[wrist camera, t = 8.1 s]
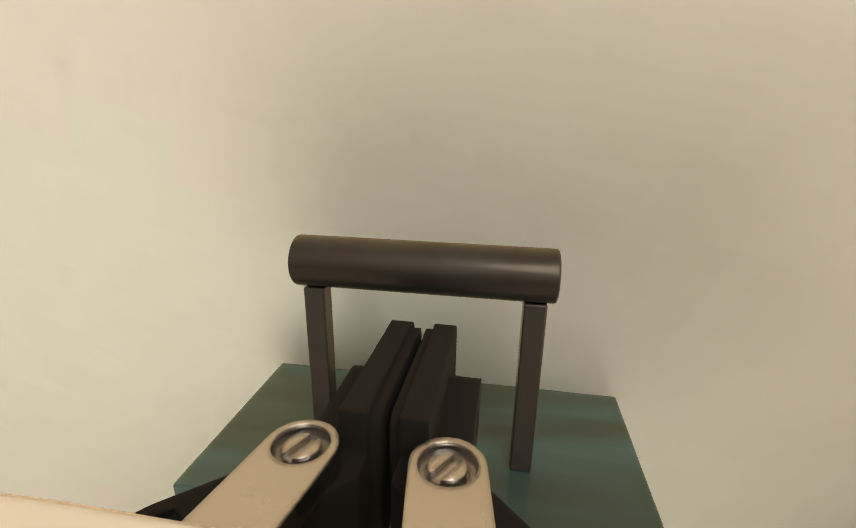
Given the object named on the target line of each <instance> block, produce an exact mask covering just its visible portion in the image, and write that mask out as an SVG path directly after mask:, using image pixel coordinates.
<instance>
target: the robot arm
mask: <svg viewBox="0 0 856 528" xmlns="http://www.w3.org/2000/svg"><path fill="white" fill-rule="evenodd" d="M456 339H457V327H456V326H452V325H441V324H435V325H434V328H433V329H426V331H425V333H424V336H423V338H422V341H421V328H415V327H414V323H413V322H408V321H397V320H392V321H391V323H390V324H389V326H388V328H387V329H386V331H385V333H384V334H383V336H382V338H381V339H380V341H379V343H378V344H377V346H376V348H375V349H374V351H373V353H372V354H371V356H370V358H369V359H368V361H367V363H366V364H365V366H358V365H355V366H353V367H352V368H351V370H350V371H349V373H348V374H347V376H346V377H345V379H344V380H343V382H342V384H341V385H340V387H339V388H338V390H337V391H336V393H335V394H334V396H333V397H332V399H331V401H330V402H329V404H328V405H327V407H326V408H325V410H324V411H323V413H322V414H321V416H320V418H319V419H318V420H312V419H310V420H299V421H295V422H291V423H288V424H286V425H284V426H282V427H279V428H278V429H276V430H275V431H274V432H272V433H271V434H270V435H269V436H268V437H267V438H266V439H265V440H264V441H263V442H262V443H261V444H260V445H259V446H258V447H257V448H256V449H255V450H254V451H253V452H251V453H250V454H249V455H248V456H247V457H246V458H245V459H244V460H243V461H242V462H241V463H240V464H239V465H238V466H237V467H236V468H235V469H234V470H233V471H232V472H231V473H230V474H228V475H226V476H223V477H221V478H218V479H216V480H213V481H211V482H208V483H205V484H203V485H200V486H198V487H195V488H193V489H190V490H188V491H185V492H183V493H180V494H177V495H175V496H172V497H170V498H167V499H165V500H162V501H160V502H157V503H155V504H152V505H150V506H148V507H146V508H144V509H142V510H140V511H137V512H136V513H128V512H123V511H117V510H111V509H105V508H99V507H93V506H87V505H81V504H75V503H69V502H63V501H57V500H51V499H43V498H35V497H28V496H20V495H12V494H4V493H0V528H389V527H390V524H391V528H530V527H529V526H528V525H527V524H526V523H525V522H524V521H523V520H522V519H521V518H520V517H519V516H518V515H517V514H516V513H514V512H513V511H512V510H511V509H510V508H509V507H508V506H507V505H506V504H505V503H504V502H503V501H502V500H501V499H500V498H499V497H498V496H497V495H495V494H494V493H493V492H492V491H491V489H490V481H489V473H488V466H487V462H486V459H485V457H484V455H483V454H482V453H481V451H480V450H479V449H478V448H477V447H476V446H477V437H478V426H479V413H480V396H481V379H479V378H469V377H460V376H455V366H456Z"/></svg>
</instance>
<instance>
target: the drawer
mask: <svg viewBox="0 0 856 528" xmlns="http://www.w3.org/2000/svg"><path fill="white" fill-rule="evenodd" d="M288 268H289V274H290V277H291V279H292V281H293V282H294V283H295V284H298V285H307V286H305V288H304V294H305V307H306V320H307V333H308V346H309V359H310V366H306V365H296V364H287V363H283V364H282V365H281V366H280V367H279V368H278V369H277V370H276V371H275V372H274V373H273V375H272V376H271V377H270V378H269V379H268V380H267V381H266V382H265V383H264V384H263V386H262V387H261V388H260V389H259V390H258V391H257V392H256V393H255V394H254V396H253V397H252V398H251V399H250V400H249V401H248V402H247V403H246V404H245V406H244V407H243V408H242V409H241V410H240V411H239V412H238V413H237V414H236V416H235V417H234V418H233V419H232V420H231V421H230V422H229V423H228V424H227V426H226V427H225V428H224V429H223V430H222V431H221V432H220V433H219V434H218V436H217V437H216V438H215V439H214V440H213V441H212V442H211V443H210V444H209V446H208V447H207V448H206V449H205V450H204V451H203V452H202V453H201V454H200V456H199V457H198V458H197V459H196V460H195V461H194V462H193V463H192V464H191V465H190V467H189V468H188V469H187V470H186V471H185V472H184V473H183V474H182V475H181V477H180V478H179V479H178V480H177V481H176V482H175V483H174V486H173V487H174V492H175V495H177V494H180V493H183V492H185V491H188V490H190V489H193V488H195V487H198V486H200V485H203V484H205V483H208V482H211V481H213V480H216V479H218V478H221V477H223V476H226V475H228V474H230V473H231V472H232V471H233V470H234V469H235V468H236V467H237V466H238V465H239V464H240V463H241V462H242V461H243V460H244V459H245V458H246V457H247V456H248V455H249V454H250V453H251V452H253V451H254V450H255V449H256V448H257V447H258V446H259V445H260V444H261V443H262V442H263V441H264V440H265V439H266V438H267V437H268V436H269V435H270V434H271V433H272V432H274V431H275V430H276V429H278V428H279V427H282V426H284V425H286V424H288V423H291V422H295V421H299V420H310V419H312V420H318V419H319V418H320V416H321V414H322V413H323V411H324V410H325V408H326V407H327V405H328V404H329V402H330V401H331V399H332V397H333V396H334V394H335V393H336V391H337V390H338V388H339V387H340V385H341V384H342V382H343V380H344V379H345V377H346V376H347V374H348V373H349V371H350V370H345V369H335V352H334V335H333V317H332V300H331V287H336V288H349V289H363V290H376V291H389V292H403V293H416V294H430V295H443V296H456V297H470V298H483V299H497V300H510V301H523V305H522V317H521V329H520V340H519V352H518V364H517V376H516V387H511V386H501V385H491V384H481V396H480V413H479V426H478V437H477V446H476V447H477V448H478V449H479V450H480V451H481V453H482V454H483V455H484V457H485V459H486V462H487V466H488V473H489V481H490V489H491V491H492V492H493V493H494V494H495V495H497V496H498V497H499V498H500V499H501V500H502V501H503V502H504V503H505V504H506V505H507V506H508V507H509V508H510V509H511V510H512V511H513V512H514V513H516V514H517V515H518V516H519V517H520V518H521V519H522V520H523V521H524V522H525V523H526V524H527V525H528V526H529V527H530V528H664V527H663V524H662V521H661V519H660V516H659V513H658V511H657V508H656V505H655V503H654V500H653V497H652V495H651V492H650V489H649V487H648V484H647V481H646V479H645V476H644V473H643V471H642V468H641V465H640V463H639V460H638V457H637V455H636V452H635V449H634V447H633V444H632V441H631V439H630V436H629V433H628V431H627V428H626V425H625V423H624V420H623V417H622V415H621V412H620V409H619V407H618V404H617V401H616V399H615V398H614V397H608V396H598V395H588V394H579V393H569V392H559V391H549V390H540V389H539V384H540V374H541V365H542V355H543V345H544V336H545V326H546V316H547V303H550V304H554V303H556V302H557V300H558V296H559V291H560V282H561V254H560V251H559V250H558V249H549V248H531V247H514V246H496V245H479V244H461V243H444V242H426V241H409V240H391V239H373V238H356V237H338V236H321V235H303V234H301V235H298V236H296V237H295V239H294V240H293V242H292V244H291V247H290V250H289V257H288ZM389 528H391V524H390V527H389Z"/></svg>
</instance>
